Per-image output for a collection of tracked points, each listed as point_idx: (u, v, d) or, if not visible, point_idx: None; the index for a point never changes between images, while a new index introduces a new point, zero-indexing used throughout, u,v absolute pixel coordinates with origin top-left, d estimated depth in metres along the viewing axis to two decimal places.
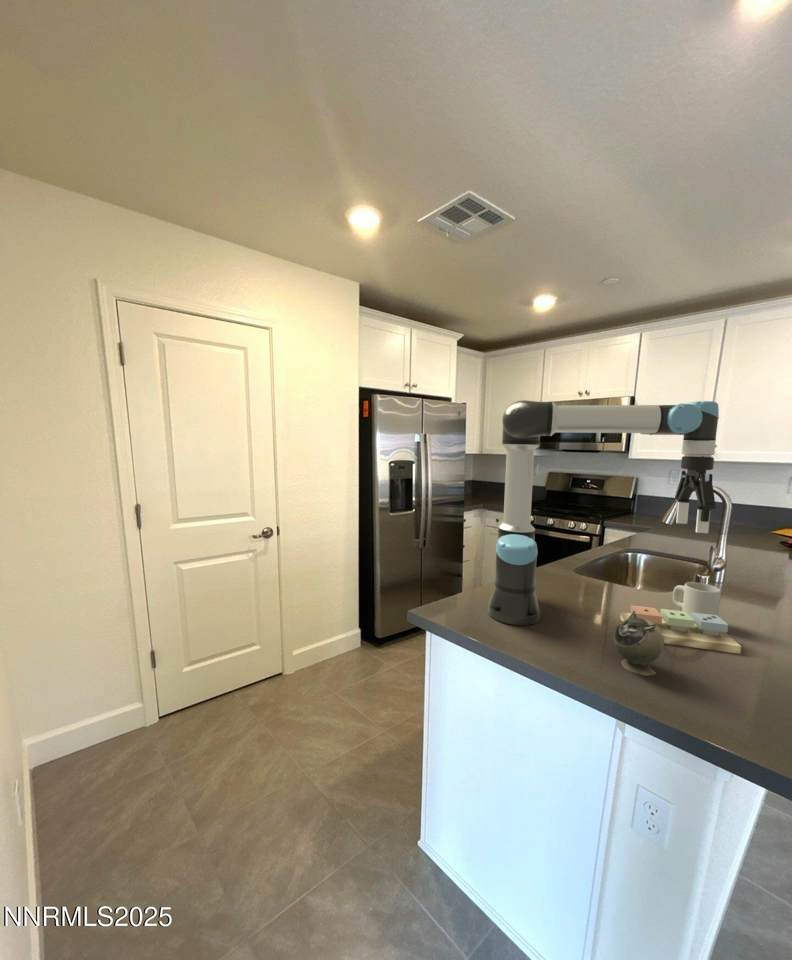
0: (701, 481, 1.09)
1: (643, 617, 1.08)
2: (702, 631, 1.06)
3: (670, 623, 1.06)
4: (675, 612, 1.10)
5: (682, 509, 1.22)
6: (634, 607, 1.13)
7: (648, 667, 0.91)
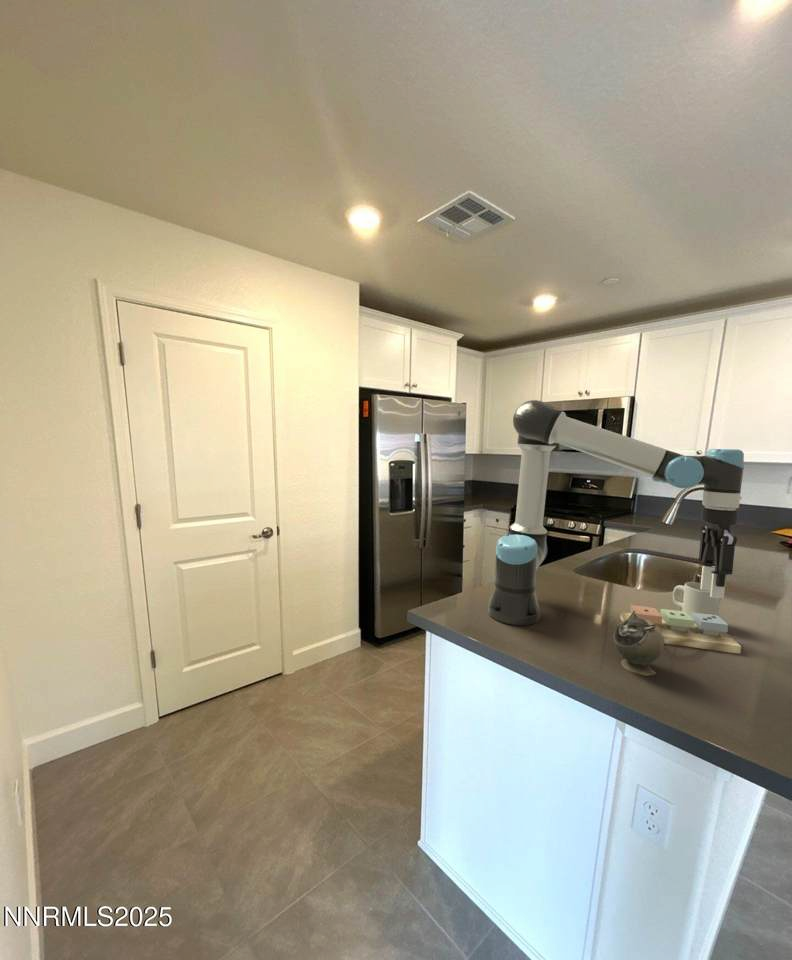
0: (723, 544, 0.99)
1: (643, 617, 1.08)
2: (702, 631, 1.06)
3: (670, 623, 1.06)
4: (675, 612, 1.10)
5: (707, 574, 1.08)
6: (634, 607, 1.13)
7: (648, 667, 0.91)
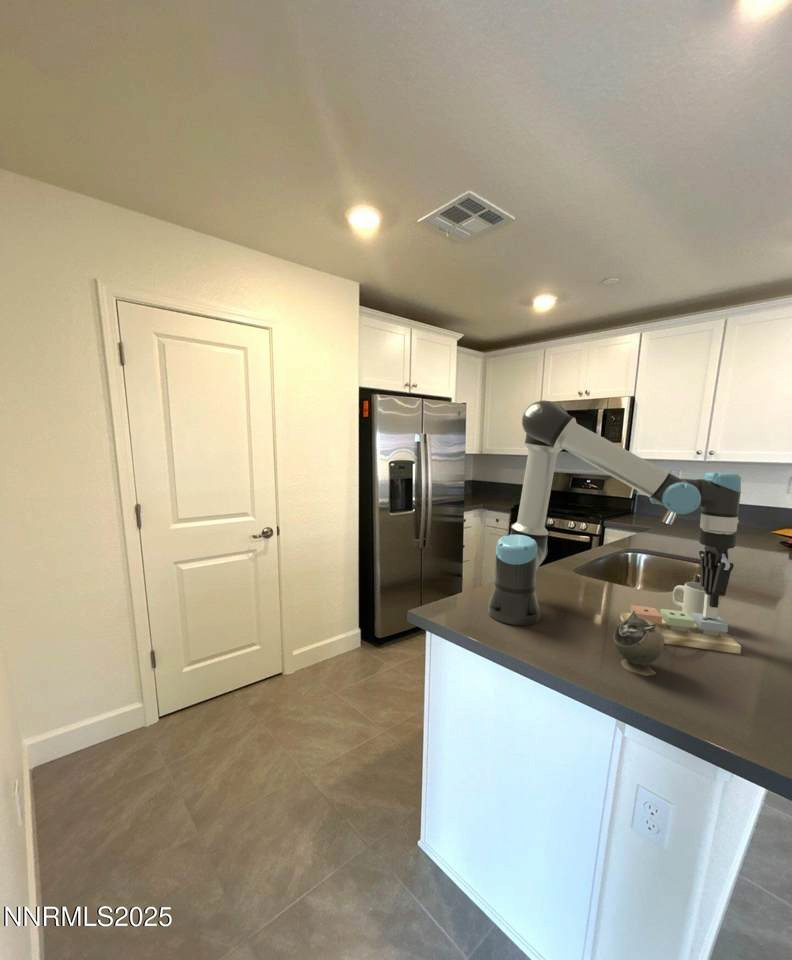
0: (719, 569, 1.00)
1: (643, 617, 1.08)
2: (702, 631, 1.06)
3: (670, 623, 1.06)
4: (675, 612, 1.10)
5: None
6: (634, 607, 1.13)
7: (648, 667, 0.91)
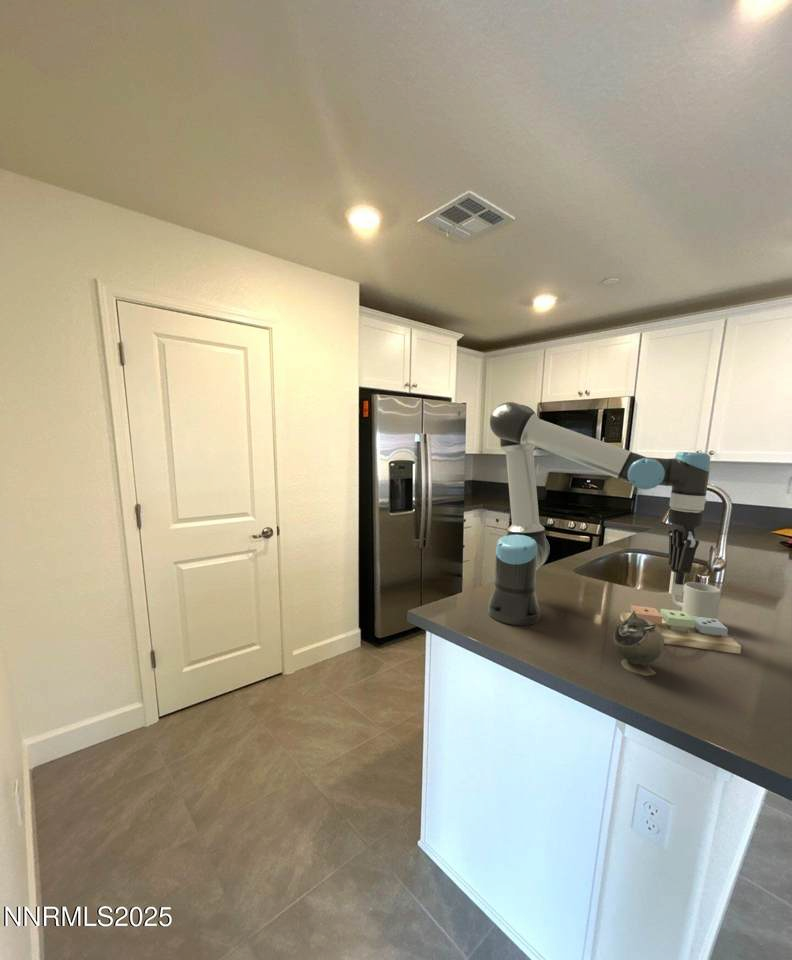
0: (685, 546, 1.02)
1: (643, 617, 1.08)
2: None
3: (670, 623, 1.06)
4: (675, 612, 1.10)
5: None
6: (634, 607, 1.13)
7: (648, 667, 0.91)
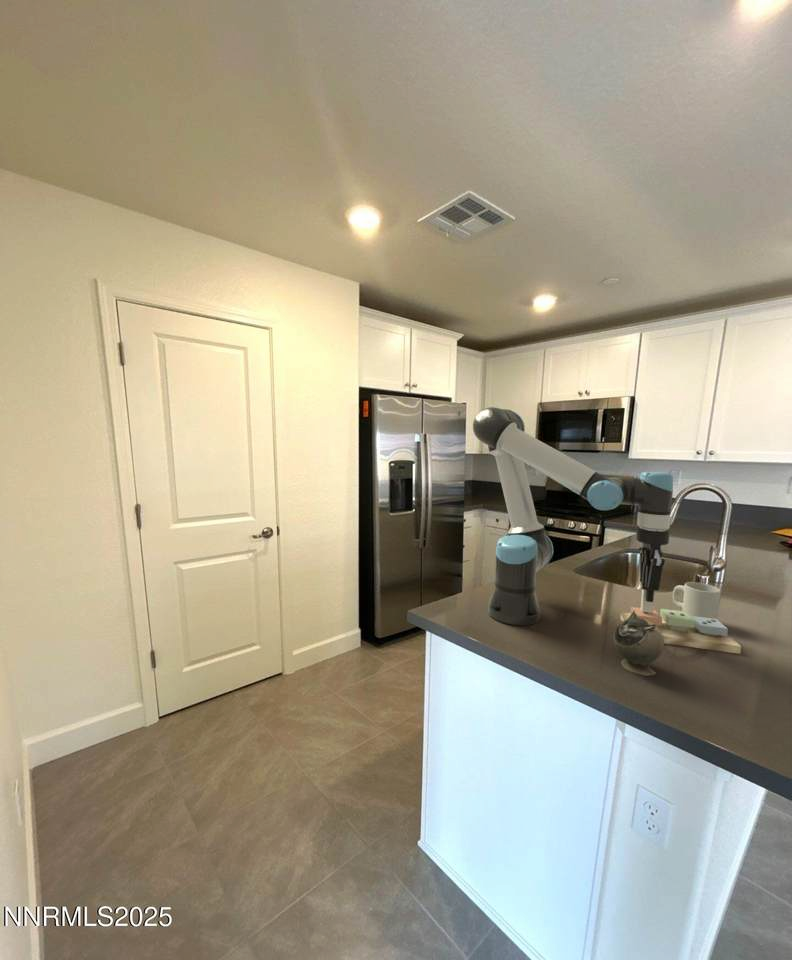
0: (652, 564, 1.05)
1: None
2: None
3: (670, 623, 1.06)
4: (675, 612, 1.10)
5: None
6: (634, 609, 1.13)
7: (648, 667, 0.91)
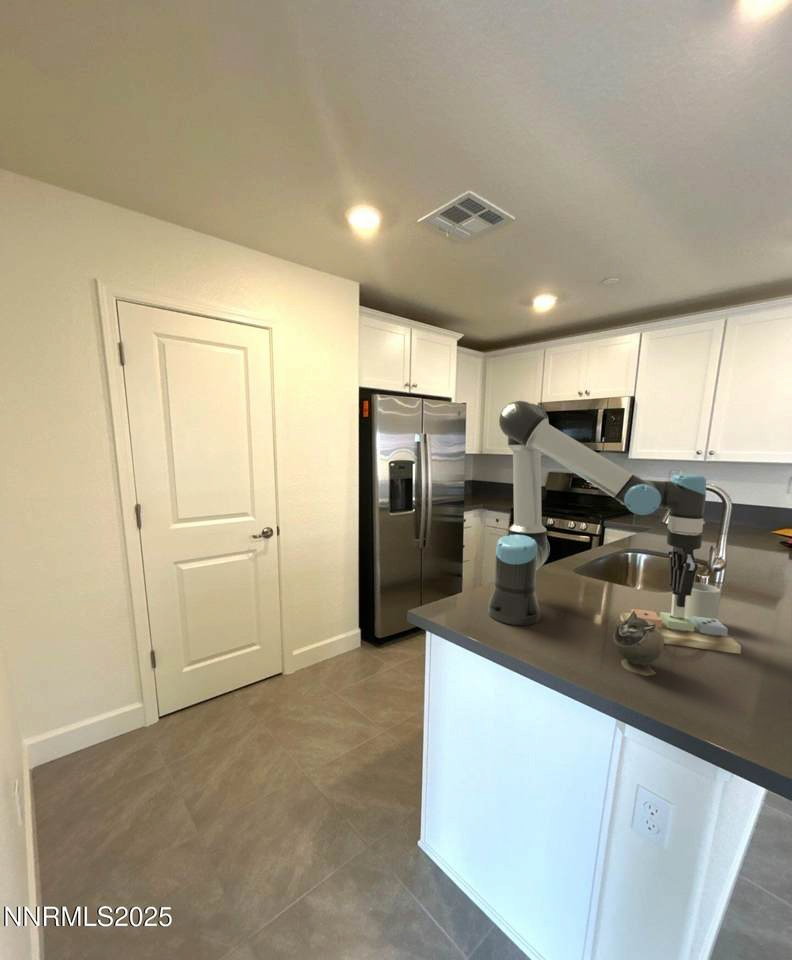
0: (684, 569, 1.03)
1: None
2: None
3: (670, 626, 1.07)
4: None
5: None
6: None
7: (648, 667, 0.91)
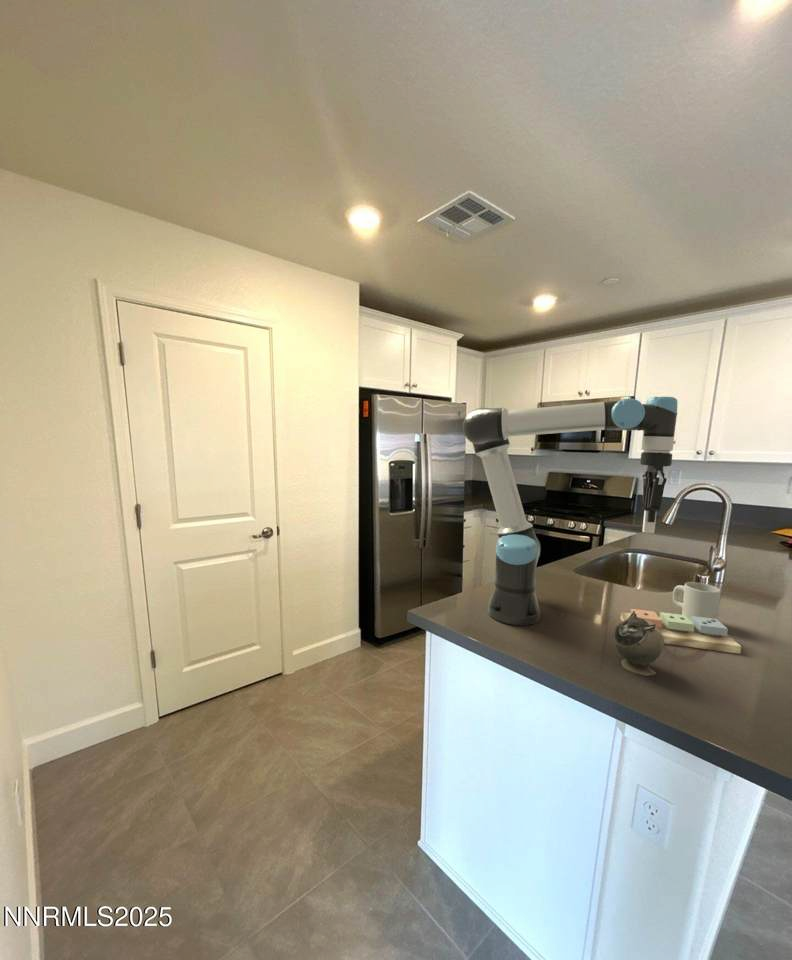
0: (654, 484, 1.10)
1: None
2: None
3: (670, 627, 1.07)
4: (675, 616, 1.10)
5: None
6: None
7: (648, 667, 0.91)
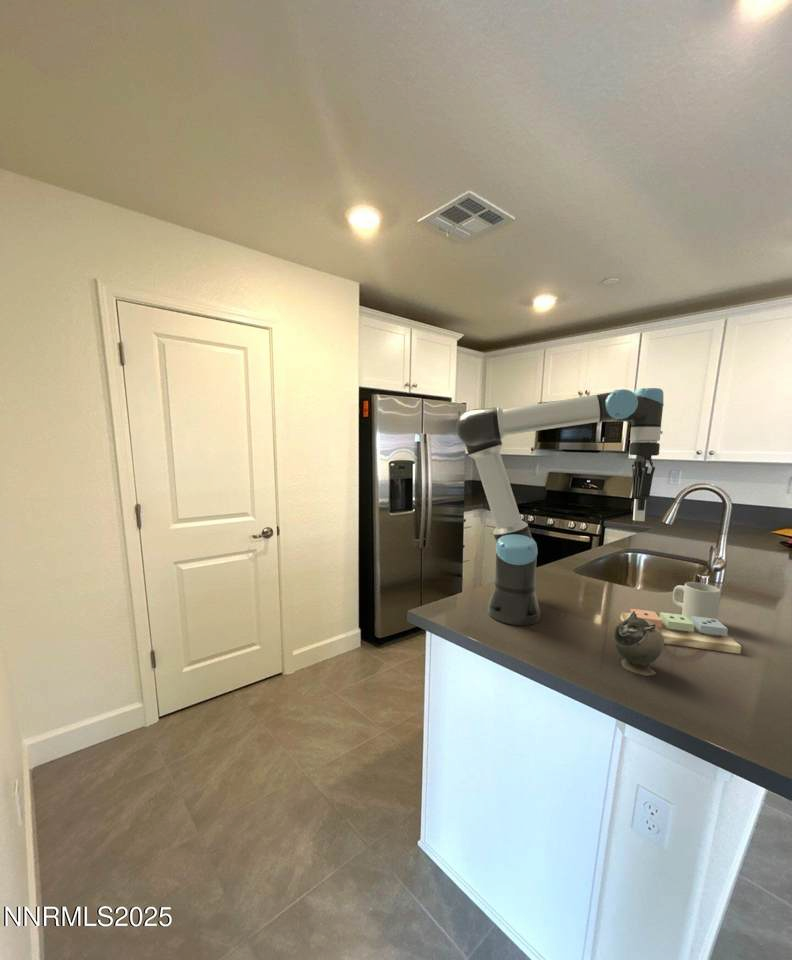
0: (643, 473, 1.13)
1: None
2: None
3: (670, 627, 1.07)
4: (675, 616, 1.10)
5: None
6: None
7: (648, 667, 0.91)
